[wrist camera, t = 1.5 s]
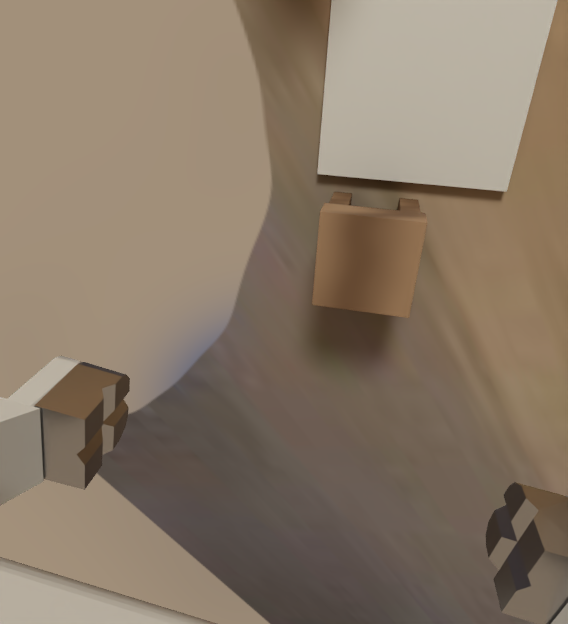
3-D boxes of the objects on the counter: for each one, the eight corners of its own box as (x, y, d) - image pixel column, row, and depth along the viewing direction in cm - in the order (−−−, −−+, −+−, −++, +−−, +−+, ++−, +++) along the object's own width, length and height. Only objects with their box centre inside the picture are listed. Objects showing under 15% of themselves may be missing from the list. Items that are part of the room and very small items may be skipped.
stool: (421, 197, 32) (427, 222, 27) (406, 280, 35) (408, 317, 29) (331, 188, 33) (320, 211, 27) (323, 269, 35) (312, 304, 30)
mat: (565, -41, 25) (568, -44, 25) (504, 189, 31) (506, 191, 30) (336, -46, 27) (335, -49, 26) (318, 172, 32) (317, 173, 32)
